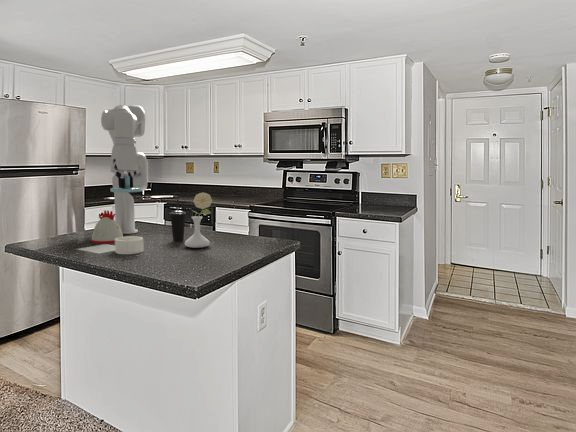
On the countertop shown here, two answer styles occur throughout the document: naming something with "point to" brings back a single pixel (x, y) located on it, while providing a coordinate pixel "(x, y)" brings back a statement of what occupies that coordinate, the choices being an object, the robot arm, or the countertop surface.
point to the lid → (126, 187)
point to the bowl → (129, 245)
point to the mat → (99, 248)
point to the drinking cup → (178, 224)
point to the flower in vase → (197, 238)
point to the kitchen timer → (106, 229)
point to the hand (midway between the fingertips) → (126, 187)
